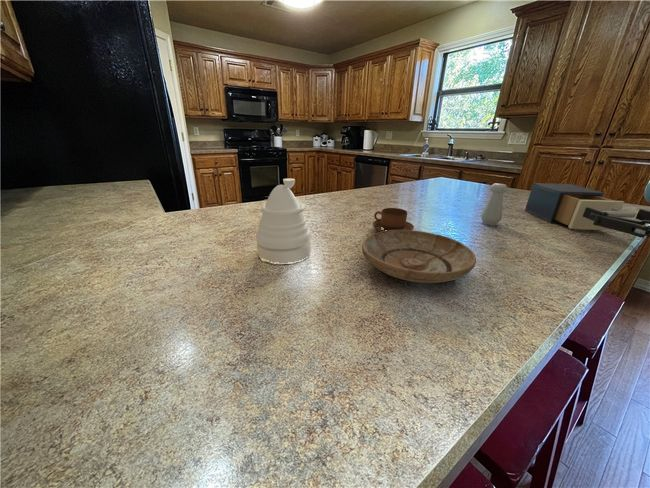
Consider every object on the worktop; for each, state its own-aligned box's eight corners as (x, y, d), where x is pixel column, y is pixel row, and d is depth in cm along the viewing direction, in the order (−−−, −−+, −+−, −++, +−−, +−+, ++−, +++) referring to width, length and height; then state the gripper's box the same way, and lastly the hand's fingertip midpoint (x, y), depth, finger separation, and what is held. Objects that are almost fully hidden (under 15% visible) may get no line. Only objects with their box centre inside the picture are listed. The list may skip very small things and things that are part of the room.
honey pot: (317, 246, 70) (317, 176, 63) (300, 268, 59) (297, 186, 52) (272, 240, 73) (267, 173, 66) (247, 260, 62) (238, 182, 55)
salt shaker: (503, 226, 85) (515, 186, 80) (485, 226, 85) (496, 185, 80) (493, 221, 91) (503, 182, 86) (476, 220, 91) (485, 182, 86)
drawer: (631, 238, 75) (646, 207, 71) (587, 236, 76) (600, 206, 72) (577, 217, 93) (587, 191, 89) (542, 215, 94) (551, 190, 90)
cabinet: (590, 224, 88) (604, 192, 84) (549, 222, 89) (561, 191, 85) (559, 212, 102) (570, 184, 97) (524, 210, 103) (533, 183, 99)
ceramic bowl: (498, 282, 54) (504, 260, 52) (401, 308, 46) (405, 283, 44) (420, 241, 74) (423, 223, 72) (343, 253, 66) (344, 234, 64)
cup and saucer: (370, 236, 77) (372, 215, 74) (373, 223, 88) (375, 204, 85) (414, 240, 74) (417, 219, 72) (411, 226, 85) (414, 207, 83)
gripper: (627, 255, 58) (559, 223, 78) (758, 261, 56) (654, 227, 75) (643, 222, 55) (568, 198, 75) (783, 227, 53) (668, 201, 72)
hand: (611, 212), depth 75 cm, fingers open, 13 cm apart
